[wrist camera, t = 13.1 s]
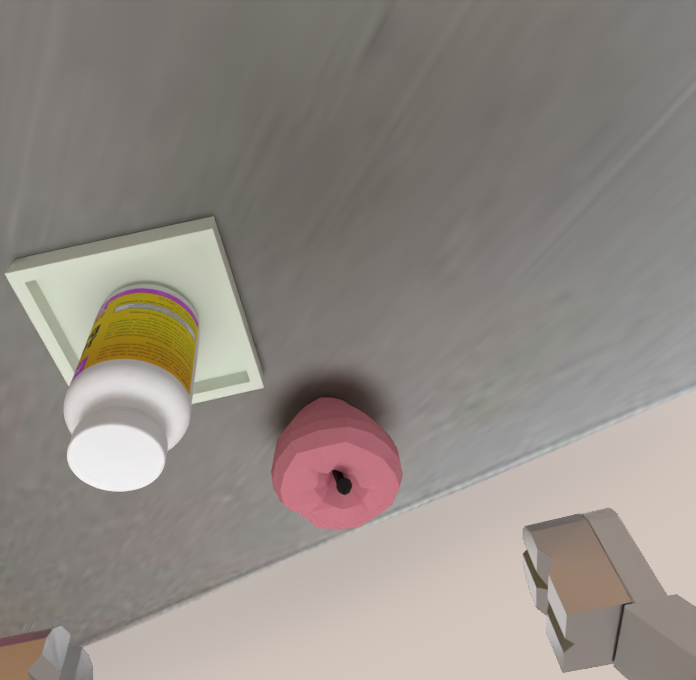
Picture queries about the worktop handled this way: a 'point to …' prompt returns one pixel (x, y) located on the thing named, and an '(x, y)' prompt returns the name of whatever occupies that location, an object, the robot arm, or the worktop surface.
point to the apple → (335, 465)
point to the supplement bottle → (132, 387)
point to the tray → (144, 268)
